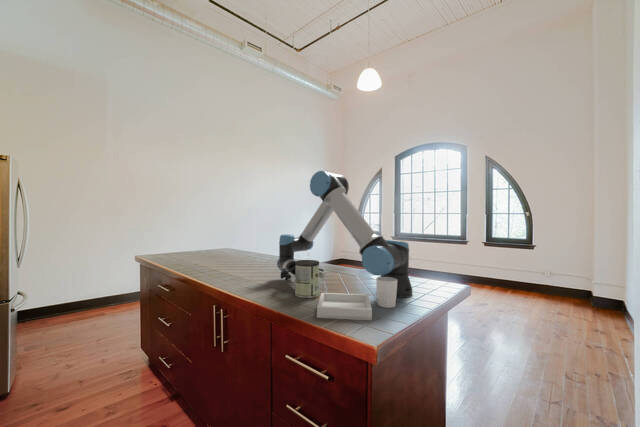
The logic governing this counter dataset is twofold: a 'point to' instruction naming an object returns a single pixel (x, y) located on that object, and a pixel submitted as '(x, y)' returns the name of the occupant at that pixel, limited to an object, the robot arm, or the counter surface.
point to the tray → (344, 306)
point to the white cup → (386, 291)
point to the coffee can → (307, 278)
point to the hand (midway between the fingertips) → (309, 277)
